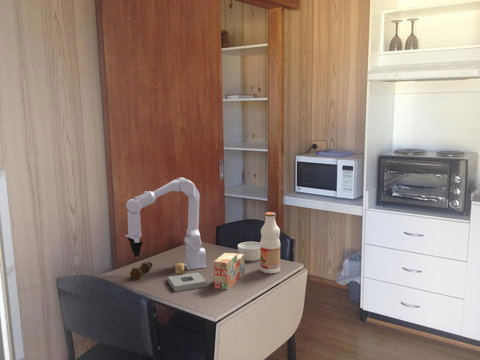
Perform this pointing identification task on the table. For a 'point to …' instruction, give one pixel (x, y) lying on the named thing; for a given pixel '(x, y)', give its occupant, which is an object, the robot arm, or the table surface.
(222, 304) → the table surface
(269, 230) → the fruit juice
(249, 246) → the ramekin
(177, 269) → the peg
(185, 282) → the board
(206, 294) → the table surface
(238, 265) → the stack of blocks
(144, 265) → the bolt
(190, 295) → the table surface
